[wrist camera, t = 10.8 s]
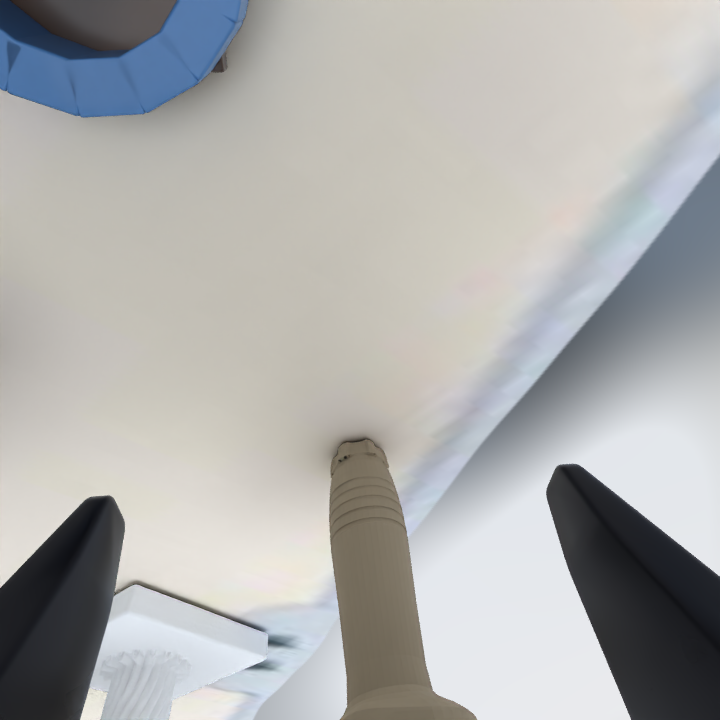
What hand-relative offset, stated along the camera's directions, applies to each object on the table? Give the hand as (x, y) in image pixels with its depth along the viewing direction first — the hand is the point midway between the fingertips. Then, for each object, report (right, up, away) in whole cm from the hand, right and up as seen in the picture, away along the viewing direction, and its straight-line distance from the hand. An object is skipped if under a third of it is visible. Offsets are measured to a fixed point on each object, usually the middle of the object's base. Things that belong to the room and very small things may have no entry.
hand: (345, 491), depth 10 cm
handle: (0, -3, +19) cm, 19 cm away
